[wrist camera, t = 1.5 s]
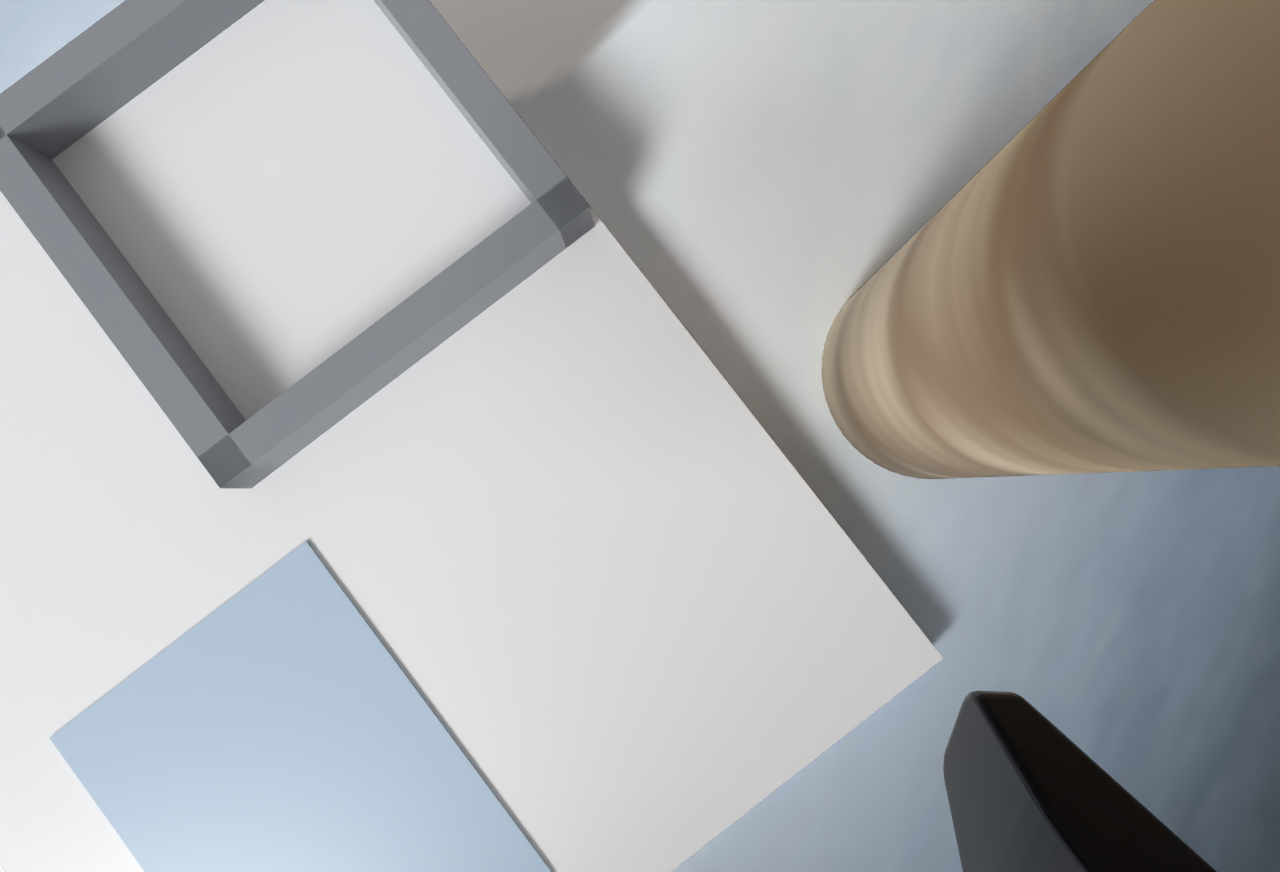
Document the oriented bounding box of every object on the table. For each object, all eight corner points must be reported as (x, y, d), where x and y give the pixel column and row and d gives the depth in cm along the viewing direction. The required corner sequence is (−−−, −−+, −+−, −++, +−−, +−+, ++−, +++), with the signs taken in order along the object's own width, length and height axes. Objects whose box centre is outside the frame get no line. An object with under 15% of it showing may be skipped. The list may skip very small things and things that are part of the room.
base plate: (929, 650, 21) (966, 671, 19) (261, 1174, 21) (208, 1266, 18) (356, -84, 23) (319, -155, 20) (-287, 397, 22) (-407, 385, 20)
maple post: (1082, 390, 22) (1720, 241, 9) (912, 523, 22) (1301, 573, 9) (946, 221, 22) (1369, -165, 9) (777, 352, 22) (959, 149, 9)
